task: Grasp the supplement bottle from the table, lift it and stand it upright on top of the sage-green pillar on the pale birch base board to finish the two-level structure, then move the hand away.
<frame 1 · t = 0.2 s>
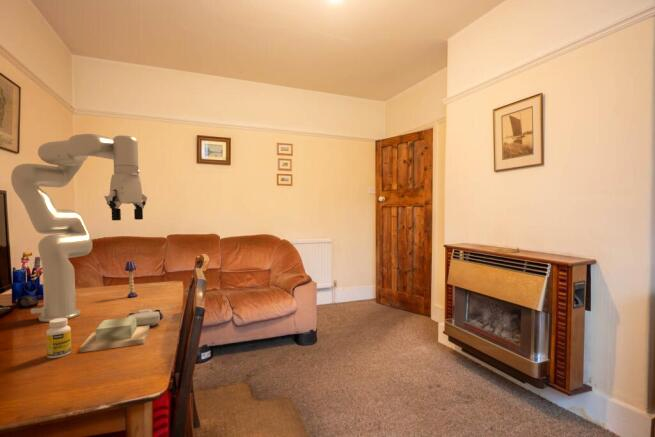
hand: (127, 219, 120), 37 cm above the table, tool pointing down, fingers open, 9 cm apart
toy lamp: (131, 297, 159), on the table
robot toy: (144, 324, 120), on the table
supplement bottle: (59, 355, 95), on the table
base board: (117, 340, 105), on the table
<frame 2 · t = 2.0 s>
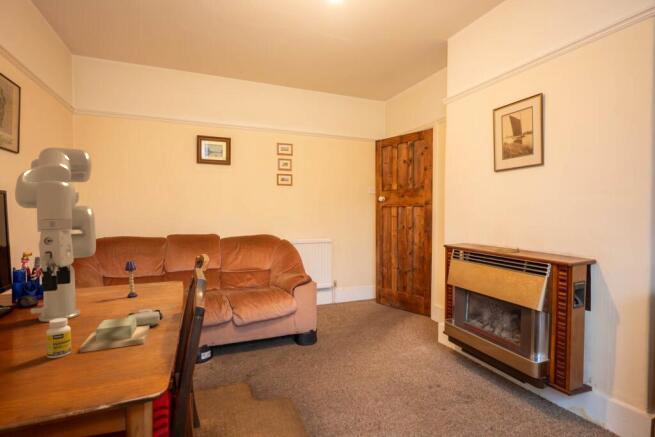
hand: (57, 287, 94), 19 cm above the table, tool pointing down, fingers open, 9 cm apart
nothing on the table moved.
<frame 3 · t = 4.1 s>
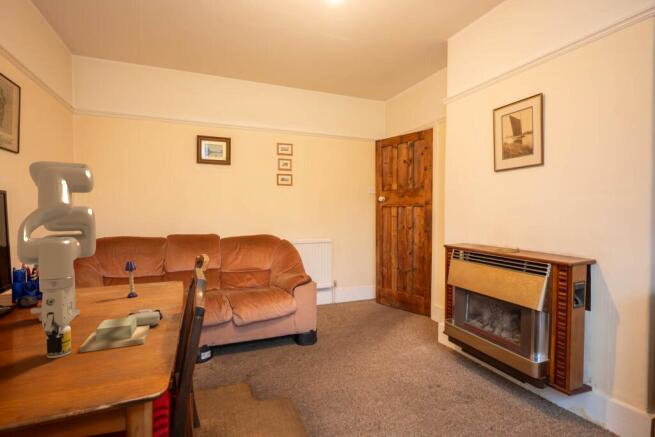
hand: (59, 347, 95), 2 cm above the table, tool pointing down, fingers closed on supplement bottle, 5 cm apart
supplement bottle: (59, 355, 95), on the table, touching gripper
everything else where it was.
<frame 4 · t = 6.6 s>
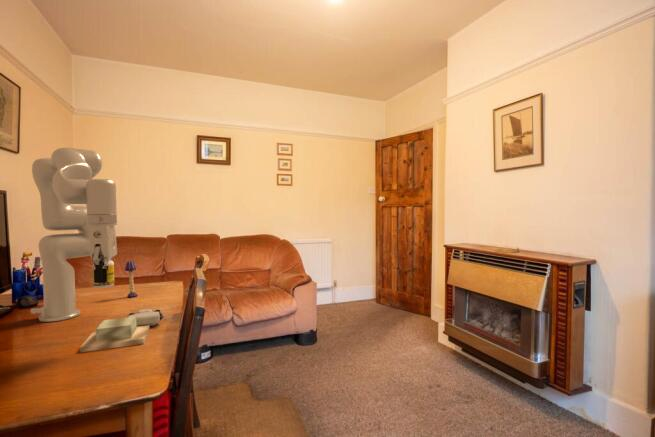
hand: (103, 279, 102), 19 cm above the table, tool pointing down, fingers closed on supplement bottle, 5 cm apart
supplement bottle: (103, 287, 102), point 17 cm above the table, touching gripper
everything else where it was.
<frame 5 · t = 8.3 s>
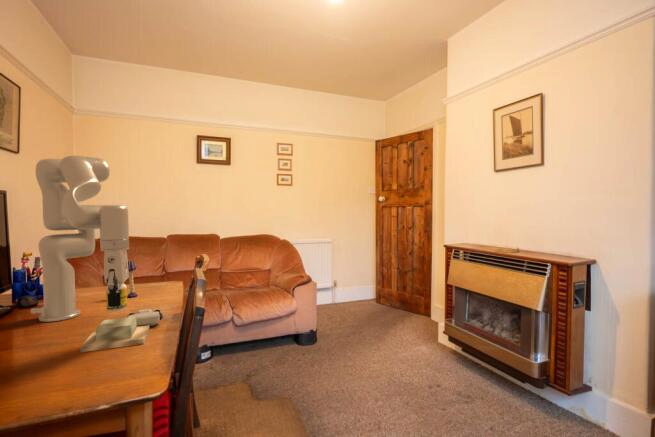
hand: (116, 303, 105), 12 cm above the table, tool pointing down, fingers closed on supplement bottle, 5 cm apart
supplement bottle: (117, 310, 105), point 9 cm above the table, touching gripper
everything else where it was.
when the fingers open (8 cm above the table, at t = 9.4 s): supplement bottle stays where it is, resting on base board.
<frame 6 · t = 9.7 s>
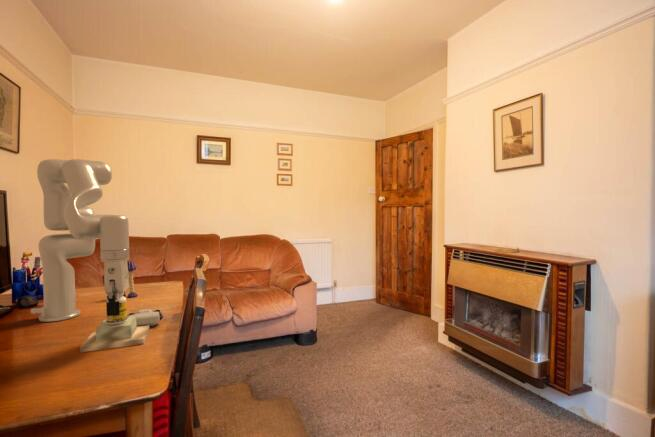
hand: (116, 310, 105), 9 cm above the table, tool pointing down, fingers open, 8 cm apart
supplement bottle: (117, 322, 105), point 5 cm above the table, touching base board
everything else where it was.
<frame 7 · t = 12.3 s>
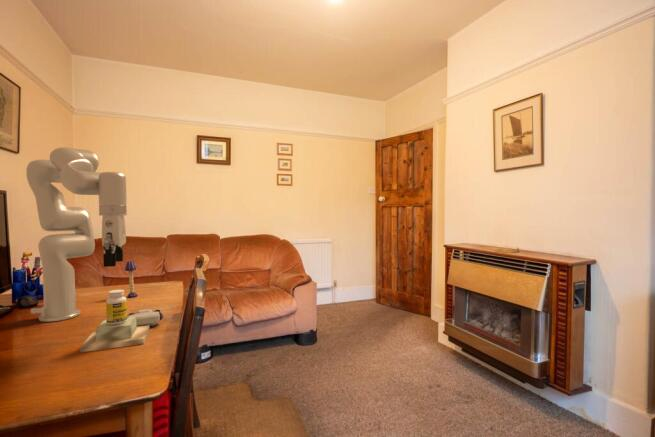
hand: (113, 263, 109), 23 cm above the table, tool pointing down, fingers open, 9 cm apart
nothing on the table moved.
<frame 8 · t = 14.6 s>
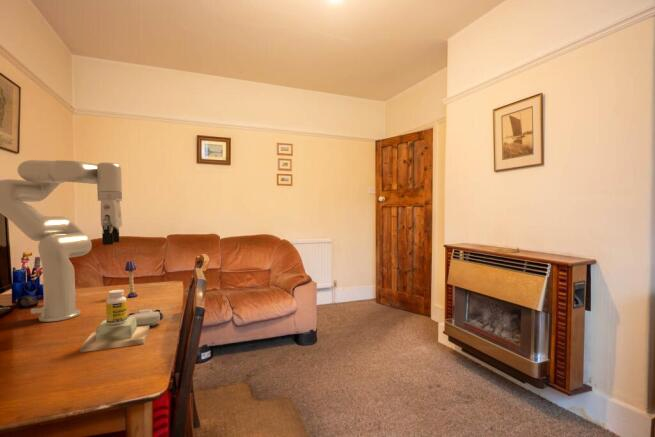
hand: (111, 243, 125), 28 cm above the table, tool pointing down, fingers open, 9 cm apart
nothing on the table moved.
at the end: supplement bottle 0.2 cm off-centre on the base board, point 5.3 cm above the base board's base; supplement bottle tilted 0°; the gripper is holding nothing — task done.
